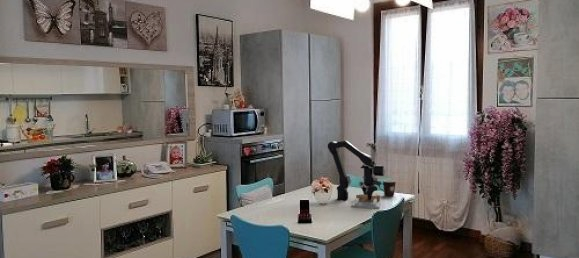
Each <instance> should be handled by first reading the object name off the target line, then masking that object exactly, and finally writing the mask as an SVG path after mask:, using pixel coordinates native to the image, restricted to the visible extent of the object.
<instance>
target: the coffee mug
mask: <svg viewBox="0 0 579 258" xmlns="http://www.w3.org/2000/svg"><path fill="white" fill-rule="evenodd" d="M396 182H397V181H396V180H393V179H384V180H382V182H381V185H382V186H383V188H381V185H380V186H378V188H379V189H380V190H381V191H382V192H383V194H384V196H385V195H386V196H385V197H394V196H395V191H396V190H395V189H396V184H397V183H396ZM393 195H394V196H393Z"/></svg>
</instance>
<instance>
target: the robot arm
mask: <svg viewBox="0 0 579 258" xmlns="http://www.w3.org/2000/svg"><path fill="white" fill-rule="evenodd" d="M340 148H345V149H346V150H347V151H349V152H350V153H352V154H353V155H355V156H356V157H357V158H359V160H360V161H361V162H362V163H363V164H362V166H360V169H363V176H362V179H363V180H361V181H359V184H358V185H359V186H360V188H361V191H362V192H363V194H367V196H368V199H369V200H371V197H372V194H374V192H377V191H378V187H379V186H380V187H381V185H382V184H381V183H382V181H380V180H379V179H378V178H377V177H385V173H386V170H385V165H383V164H382V165H377V164H376V162H375V160H374V157H373V156H371V155H369V154H367V153H365V152H363V151H361V150H360V149H359V148H357V147H356V146H355V145H353V144H352V143H350V142H349V141H348V140H342V141H337V140H333V141H330V142H328V143H327V149H328V151H329V153H330V154H331V155H332V157H333V161H334V163H335V168H336V169H337V170H336V171H337V172H338V176H339V178H338V182H339V185H338V186H336V190H337V197H336V200H337V201H339V200H340V201H347V200H348V199H349V191H348V188H349V187H350V186H351V184H352V183H351V182H352V180H351V175H347V173H346V170H345V167H344V164H343V161H342V159H341V158H342V157H341V155H340ZM374 176H375V177H374Z"/></svg>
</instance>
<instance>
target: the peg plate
mask: <svg viewBox="0 0 579 258" xmlns="http://www.w3.org/2000/svg"><path fill="white" fill-rule="evenodd" d="M350 207H351V208H361V207H362V208H364V209H378V210H379V209H380V207H381V203H380V202H377V199H374V200H373V202H359V198H356V197H355V200H354V201H353V202H352V203H351V205H350Z"/></svg>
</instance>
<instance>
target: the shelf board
mask: <svg viewBox="0 0 579 258" xmlns="http://www.w3.org/2000/svg"><path fill="white" fill-rule="evenodd" d="M380 197H381V196H380V194H378V193H373V194H372V197H371V200H369V199H368V196H367V194H364V193H363V194H356V195H355V199H356V198H359V202H368V203H373V200H374V199H377V201H378V202H380V201H381V198H380Z"/></svg>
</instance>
